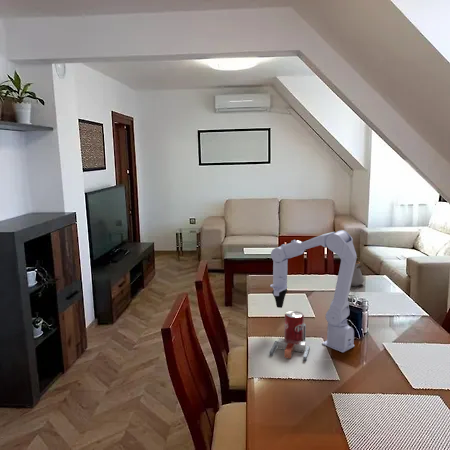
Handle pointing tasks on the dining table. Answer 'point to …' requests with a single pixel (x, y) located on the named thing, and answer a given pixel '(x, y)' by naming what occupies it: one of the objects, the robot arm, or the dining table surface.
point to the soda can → (294, 326)
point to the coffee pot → (357, 275)
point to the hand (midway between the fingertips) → (279, 307)
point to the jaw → (291, 346)
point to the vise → (303, 339)
